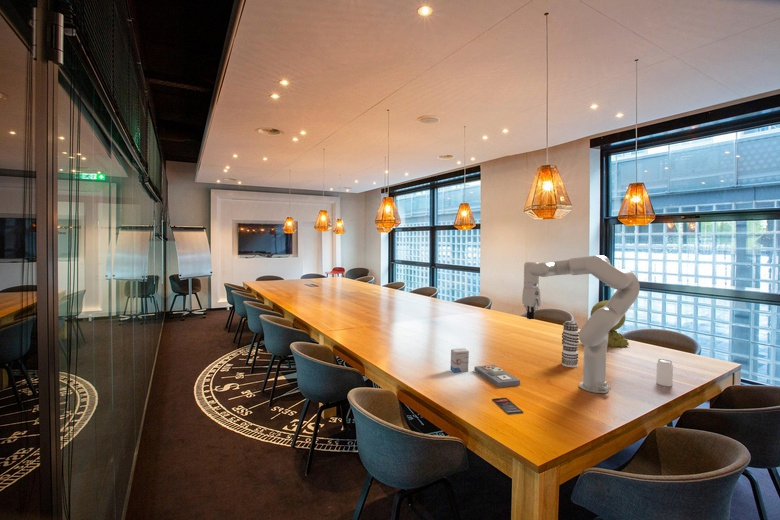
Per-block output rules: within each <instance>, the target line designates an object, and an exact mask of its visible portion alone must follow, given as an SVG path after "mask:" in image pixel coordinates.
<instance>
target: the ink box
mask: <svg viewBox="0 0 780 520" xmlns="http://www.w3.org/2000/svg"><path fill="white" fill-rule="evenodd" d="M469 353H470V351H469V350H468V349H466V348H465V347H464V348H451V349H450V371H451V372H453V373H454V374H457V373H468V372H469V359H470V357H469V356H470V354H469Z"/></svg>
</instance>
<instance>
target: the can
mask: <svg viewBox="0 0 780 520" xmlns="http://www.w3.org/2000/svg"><path fill="white" fill-rule="evenodd" d="M673 374H674V365H673V361H672V360H669V359H665V358H659V359H657V363H656V374H655V375H656V377H655V380H656V381H655V382H656V384H657V385H659V386H661V387H666V388H671V387H672V386H673V379H674V378H673V376H674V375H673Z"/></svg>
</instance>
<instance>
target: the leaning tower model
mask: <svg viewBox="0 0 780 520" xmlns="http://www.w3.org/2000/svg"><path fill="white" fill-rule="evenodd" d="M562 325H563V329H562V333H561V341H562V342H561V345H562V351H561V365H562V366H564V367H566V368H567V367H568V368H578V366H579V365H578V364H579V352H578V347H579V343H580V340H579V332H580V331H579V324H578V323H577V321H573V320H566V321H564V323H562Z"/></svg>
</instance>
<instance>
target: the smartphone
mask: <svg viewBox="0 0 780 520" xmlns="http://www.w3.org/2000/svg"><path fill="white" fill-rule="evenodd" d="M491 401H492V402H493V403H495V404H496V405H497V407H499V408H500V409H501V410H502V411H503V412H504V413H505V414H507V415H508V416H509V415H510V416H511V415H520V414H521V415H523V414H524V411H523V410H522V409H521V408H519V407H518V406H517V405H516V404H514V403H513V402H512V400H510V399H509V398H508V397H499V398H498V397H496V398H492V399H491Z"/></svg>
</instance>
